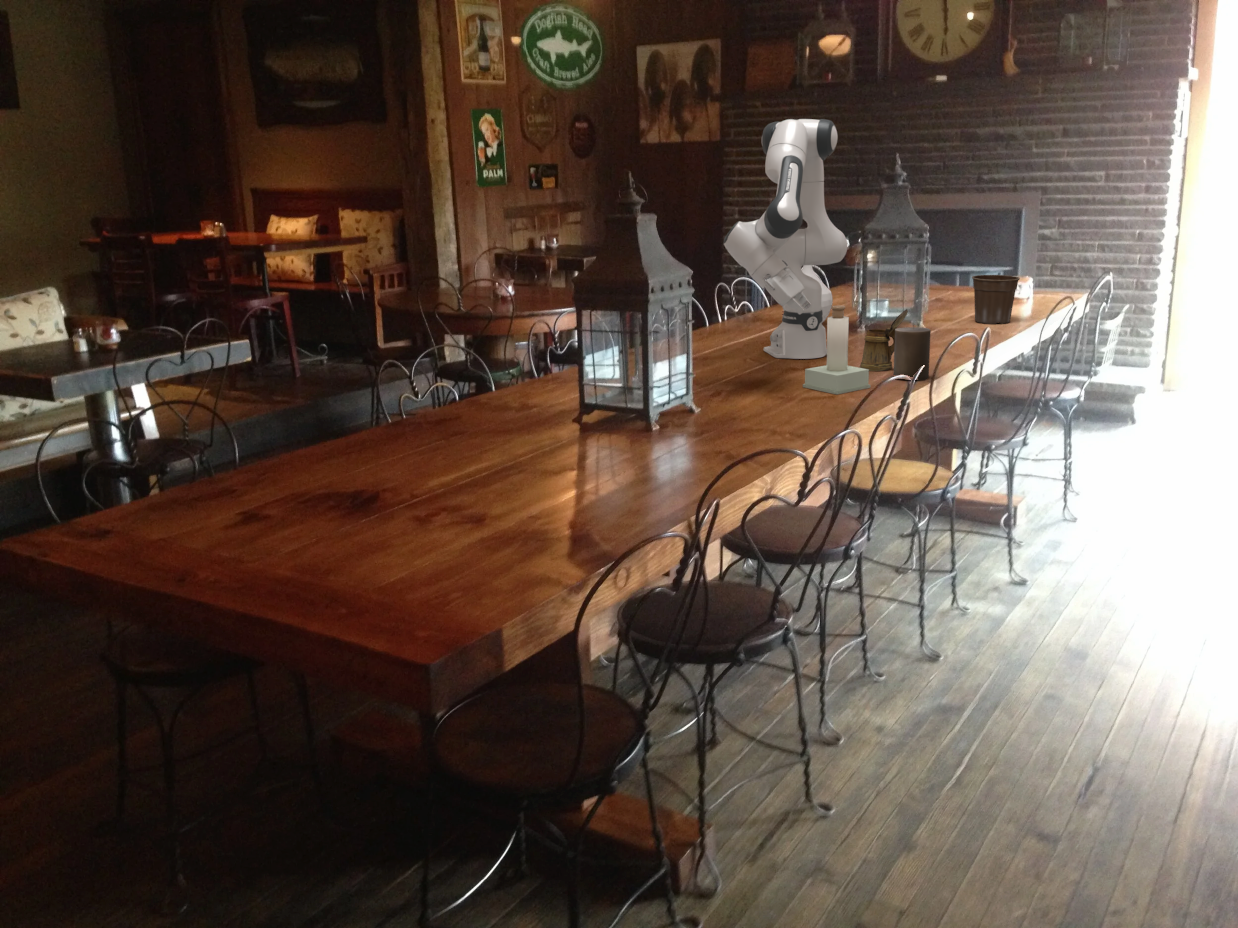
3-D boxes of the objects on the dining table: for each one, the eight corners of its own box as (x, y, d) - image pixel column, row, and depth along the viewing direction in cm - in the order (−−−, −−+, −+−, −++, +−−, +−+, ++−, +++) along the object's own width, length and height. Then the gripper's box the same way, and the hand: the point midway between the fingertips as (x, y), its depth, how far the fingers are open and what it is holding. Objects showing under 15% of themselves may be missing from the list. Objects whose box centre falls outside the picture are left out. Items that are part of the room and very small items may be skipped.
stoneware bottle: (822, 368, 306) (823, 306, 302) (840, 366, 308) (842, 304, 303) (833, 371, 301) (834, 308, 297) (851, 369, 303) (853, 306, 298)
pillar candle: (929, 381, 310) (932, 327, 306) (893, 380, 312) (895, 327, 308) (927, 375, 319) (930, 322, 315) (892, 374, 321) (894, 322, 317)
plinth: (802, 387, 307) (803, 369, 306) (836, 380, 314) (836, 363, 313) (836, 394, 297) (837, 376, 296) (870, 387, 304) (871, 369, 303)
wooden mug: (899, 374, 321) (901, 311, 316) (855, 369, 329) (857, 308, 324) (911, 368, 328) (913, 307, 323) (867, 364, 336) (869, 304, 331)
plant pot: (1021, 320, 408) (1024, 275, 403) (1010, 326, 395) (1013, 280, 390) (976, 317, 416) (978, 273, 412) (964, 324, 403) (966, 278, 399)
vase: (772, 323, 416) (773, 241, 408) (817, 320, 421) (819, 239, 413) (794, 330, 399) (796, 245, 391) (841, 326, 404) (843, 242, 396)
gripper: (770, 269, 293) (807, 307, 292) (786, 260, 311) (820, 296, 311) (753, 286, 296) (790, 324, 295) (770, 276, 314) (804, 312, 314)
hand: (805, 310), depth 303 cm, fingers open, 8 cm apart
